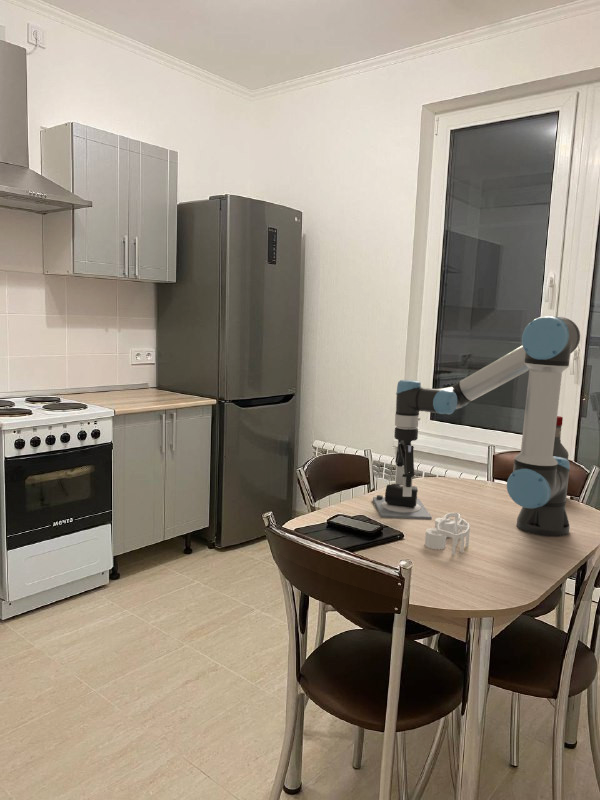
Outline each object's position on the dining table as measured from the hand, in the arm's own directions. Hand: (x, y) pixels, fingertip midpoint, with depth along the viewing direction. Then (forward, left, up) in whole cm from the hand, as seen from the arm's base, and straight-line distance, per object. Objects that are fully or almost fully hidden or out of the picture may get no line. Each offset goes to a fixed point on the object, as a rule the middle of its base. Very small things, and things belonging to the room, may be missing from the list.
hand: (403, 490), depth 206 cm
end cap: (0, 0, -5) cm, 5 cm away
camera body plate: (0, 0, -7) cm, 7 cm away
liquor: (+26, -61, -7) cm, 67 cm away
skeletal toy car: (-31, -8, -7) cm, 33 cm away
